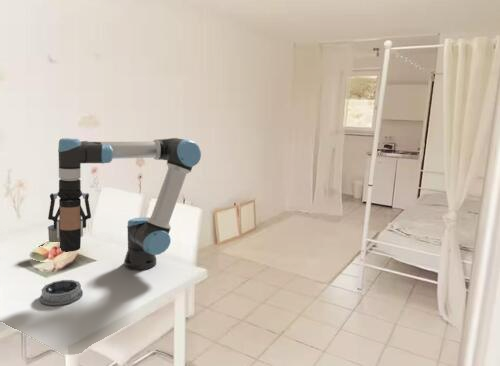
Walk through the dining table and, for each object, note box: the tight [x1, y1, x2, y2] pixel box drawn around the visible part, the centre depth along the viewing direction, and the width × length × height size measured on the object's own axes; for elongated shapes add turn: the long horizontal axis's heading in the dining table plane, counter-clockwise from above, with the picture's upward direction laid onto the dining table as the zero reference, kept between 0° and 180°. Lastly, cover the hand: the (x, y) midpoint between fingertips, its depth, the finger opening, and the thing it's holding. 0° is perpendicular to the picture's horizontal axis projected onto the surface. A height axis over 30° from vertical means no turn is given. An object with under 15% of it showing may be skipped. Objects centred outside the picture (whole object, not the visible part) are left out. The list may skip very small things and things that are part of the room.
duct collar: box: [39, 279, 84, 307], centre depth 148 cm, size 15×15×4 cm
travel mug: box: [58, 197, 82, 253], centre depth 147 cm, size 8×8×20 cm
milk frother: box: [38, 224, 60, 247], centre depth 191 cm, size 14×16×15 cm
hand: (70, 236), depth 148 cm, fingers closed on travel mug, 8 cm apart
